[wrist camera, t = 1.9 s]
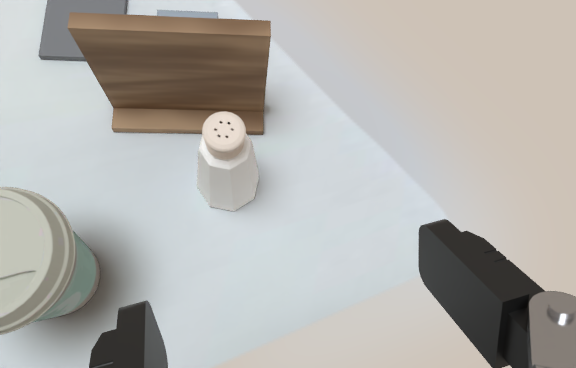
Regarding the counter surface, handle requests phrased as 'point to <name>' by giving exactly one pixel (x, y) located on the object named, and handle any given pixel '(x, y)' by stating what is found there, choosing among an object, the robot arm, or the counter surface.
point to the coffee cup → (40, 261)
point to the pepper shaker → (226, 163)
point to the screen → (176, 69)
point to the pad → (55, 28)
